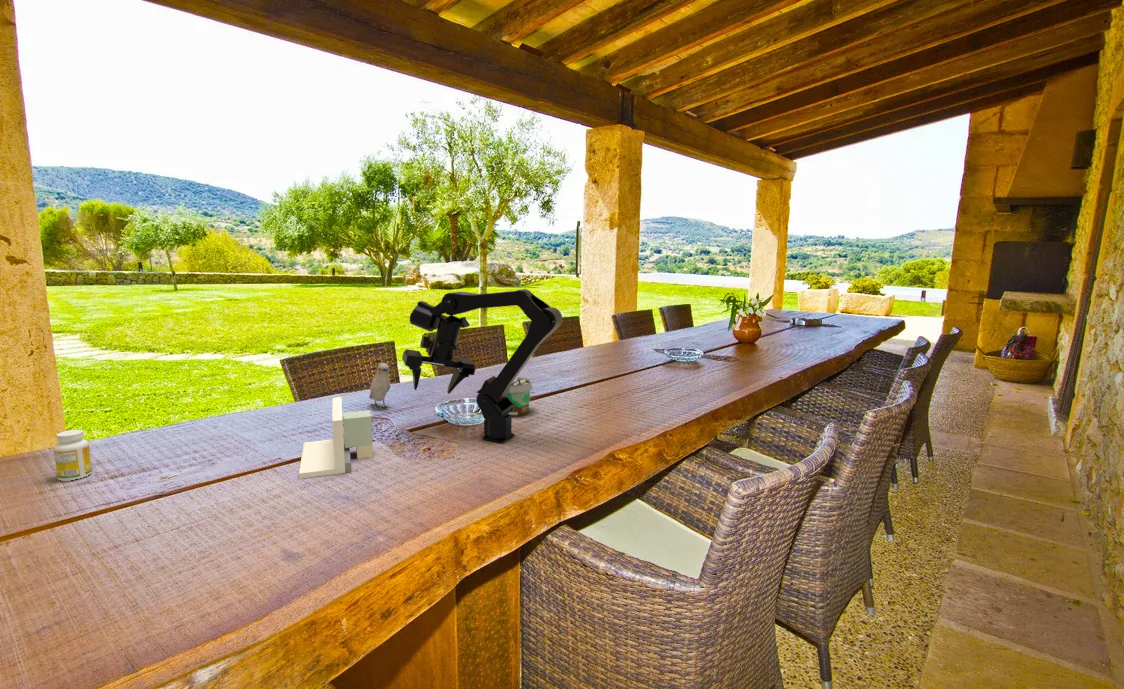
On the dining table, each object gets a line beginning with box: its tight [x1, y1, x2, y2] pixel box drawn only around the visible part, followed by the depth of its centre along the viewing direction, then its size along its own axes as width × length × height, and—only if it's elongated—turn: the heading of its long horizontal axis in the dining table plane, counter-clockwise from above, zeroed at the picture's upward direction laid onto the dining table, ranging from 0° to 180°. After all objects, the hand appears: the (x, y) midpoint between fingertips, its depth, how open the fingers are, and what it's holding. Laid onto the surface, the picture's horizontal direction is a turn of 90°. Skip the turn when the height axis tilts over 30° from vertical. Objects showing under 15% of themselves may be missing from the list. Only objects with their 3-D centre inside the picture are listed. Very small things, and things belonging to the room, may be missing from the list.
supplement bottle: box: [53, 429, 93, 482], centre depth 108 cm, size 5×5×10 cm
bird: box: [369, 362, 391, 408], centre depth 160 cm, size 5×14×15 cm, turn 41°
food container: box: [507, 376, 533, 418], centre depth 158 cm, size 12×6×10 cm, turn 168°
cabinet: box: [342, 409, 374, 460], centre depth 123 cm, size 6×5×10 cm
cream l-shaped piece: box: [298, 396, 352, 480], centre depth 120 cm, size 10×20×12 cm, turn 23°
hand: (431, 391), depth 141 cm, fingers open, 9 cm apart
